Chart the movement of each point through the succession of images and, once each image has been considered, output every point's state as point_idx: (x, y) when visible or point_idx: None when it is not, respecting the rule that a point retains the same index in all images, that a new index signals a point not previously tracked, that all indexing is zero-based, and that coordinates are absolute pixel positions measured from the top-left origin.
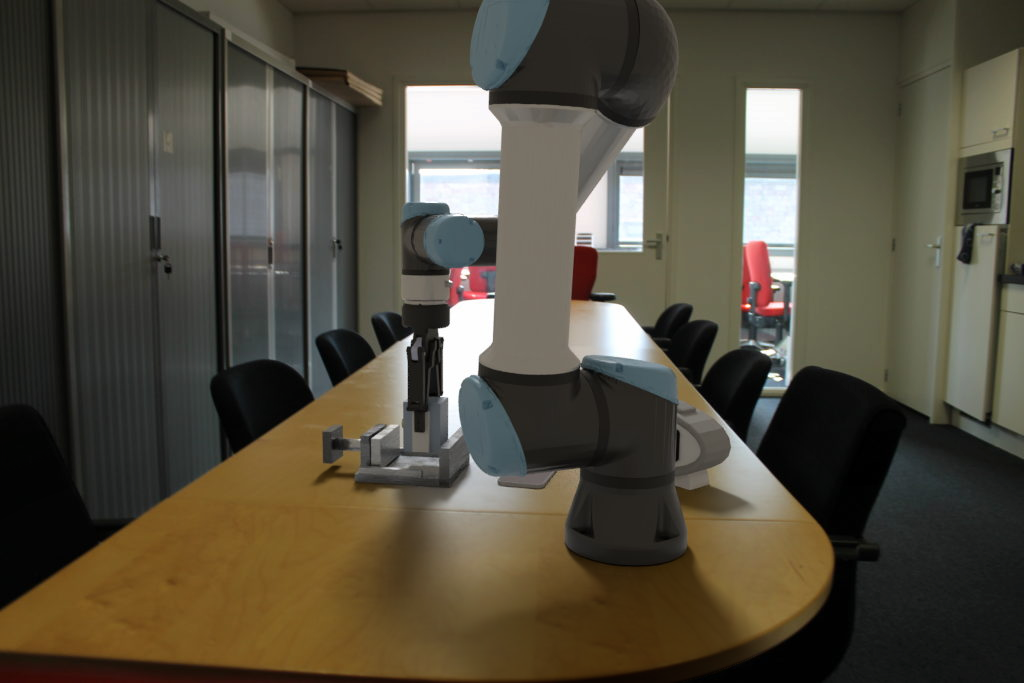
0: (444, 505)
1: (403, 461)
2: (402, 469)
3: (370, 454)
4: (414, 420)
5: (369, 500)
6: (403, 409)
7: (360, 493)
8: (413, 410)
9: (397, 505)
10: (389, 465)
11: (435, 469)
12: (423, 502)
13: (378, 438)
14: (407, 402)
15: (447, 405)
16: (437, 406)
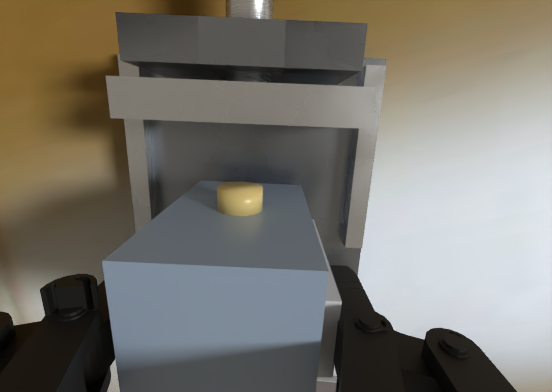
0: (40, 296)
1: (277, 153)
2: (135, 190)
3: (164, 73)
4: (99, 287)
5: (8, 140)
6: (128, 240)
7: (47, 101)
8: (30, 326)
9: (2, 210)
10: (230, 125)
11: None
12: (42, 255)
13: (119, 106)
14: (108, 287)
15: None
16: None
